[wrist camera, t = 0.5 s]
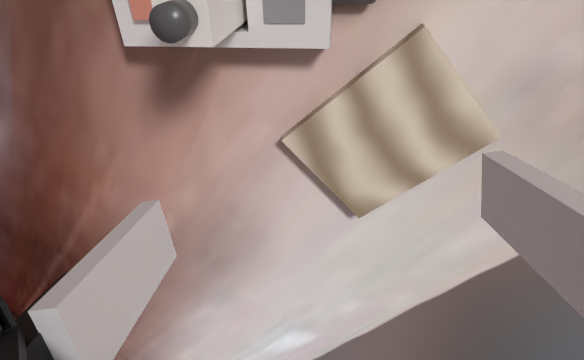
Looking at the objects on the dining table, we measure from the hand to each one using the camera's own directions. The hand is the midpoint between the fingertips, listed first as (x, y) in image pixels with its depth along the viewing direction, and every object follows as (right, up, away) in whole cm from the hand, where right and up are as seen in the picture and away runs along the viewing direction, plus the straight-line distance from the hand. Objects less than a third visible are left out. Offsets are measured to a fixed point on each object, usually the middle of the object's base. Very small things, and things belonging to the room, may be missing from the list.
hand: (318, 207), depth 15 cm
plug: (-7, +19, +19) cm, 28 cm away
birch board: (+9, +6, +25) cm, 27 cm away
